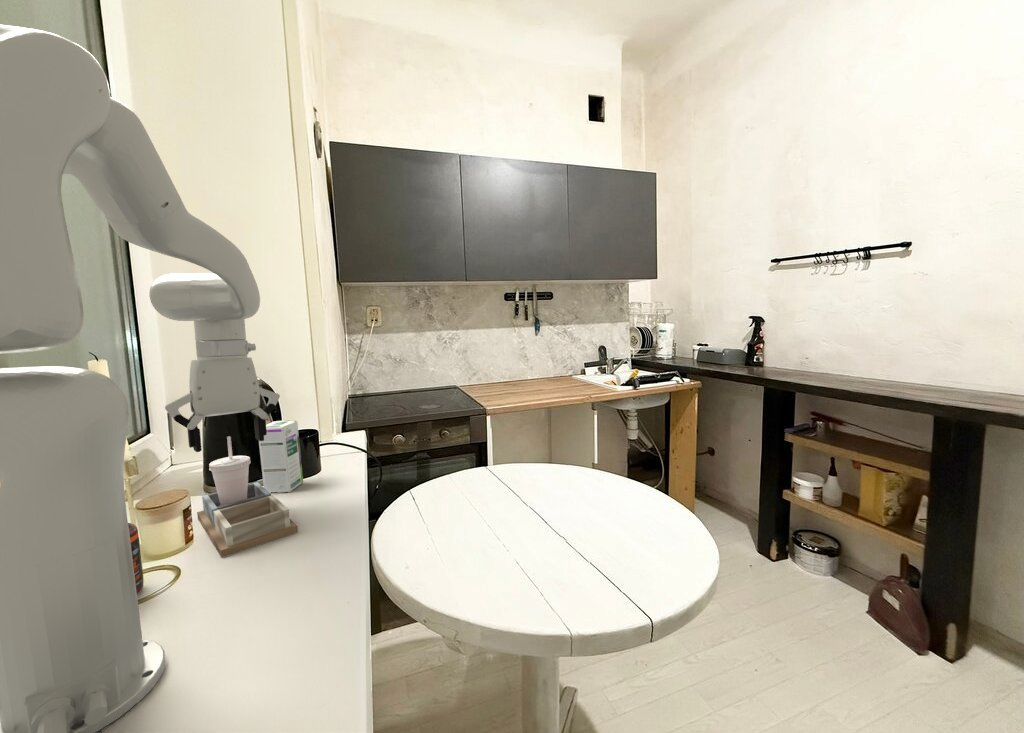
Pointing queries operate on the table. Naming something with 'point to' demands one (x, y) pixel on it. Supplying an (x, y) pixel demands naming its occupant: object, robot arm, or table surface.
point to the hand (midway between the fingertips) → (230, 445)
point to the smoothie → (231, 476)
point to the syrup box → (281, 457)
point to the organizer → (245, 520)
